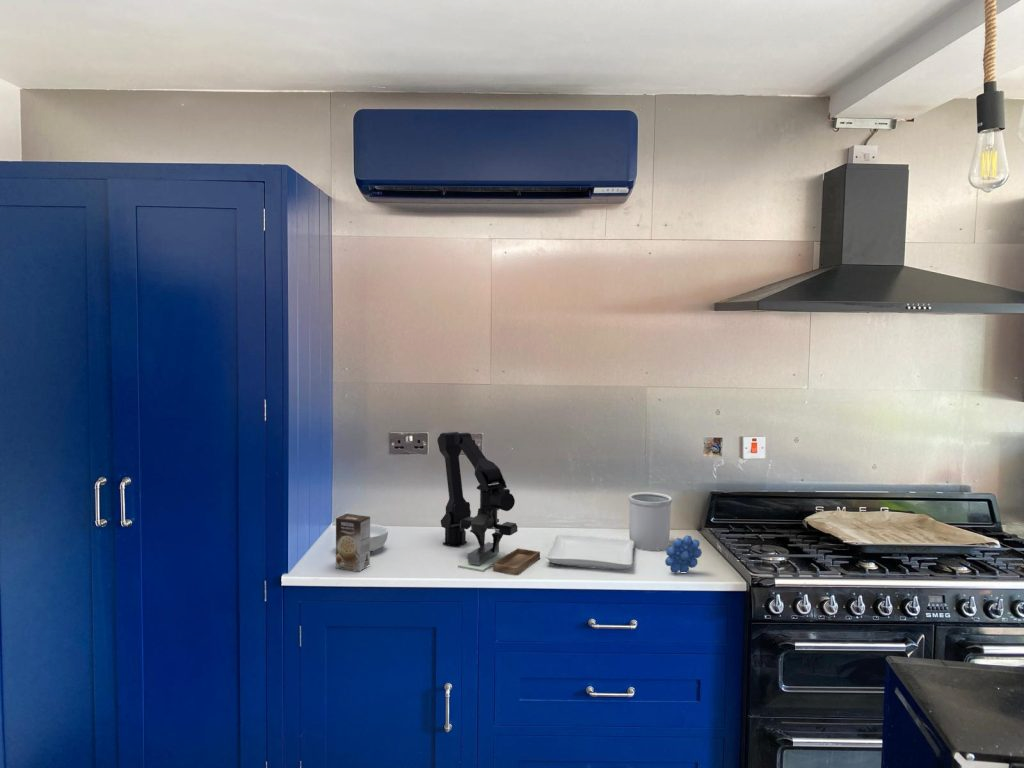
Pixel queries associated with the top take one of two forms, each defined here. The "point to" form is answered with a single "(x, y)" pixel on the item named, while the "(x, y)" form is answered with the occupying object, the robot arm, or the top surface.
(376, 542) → the cereal bowl
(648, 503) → the utensil holder
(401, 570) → the top surface
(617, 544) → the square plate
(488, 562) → the sage mat
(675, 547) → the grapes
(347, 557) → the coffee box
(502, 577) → the top surface
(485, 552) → the gunmetal bar
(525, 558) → the walnut slot tray
